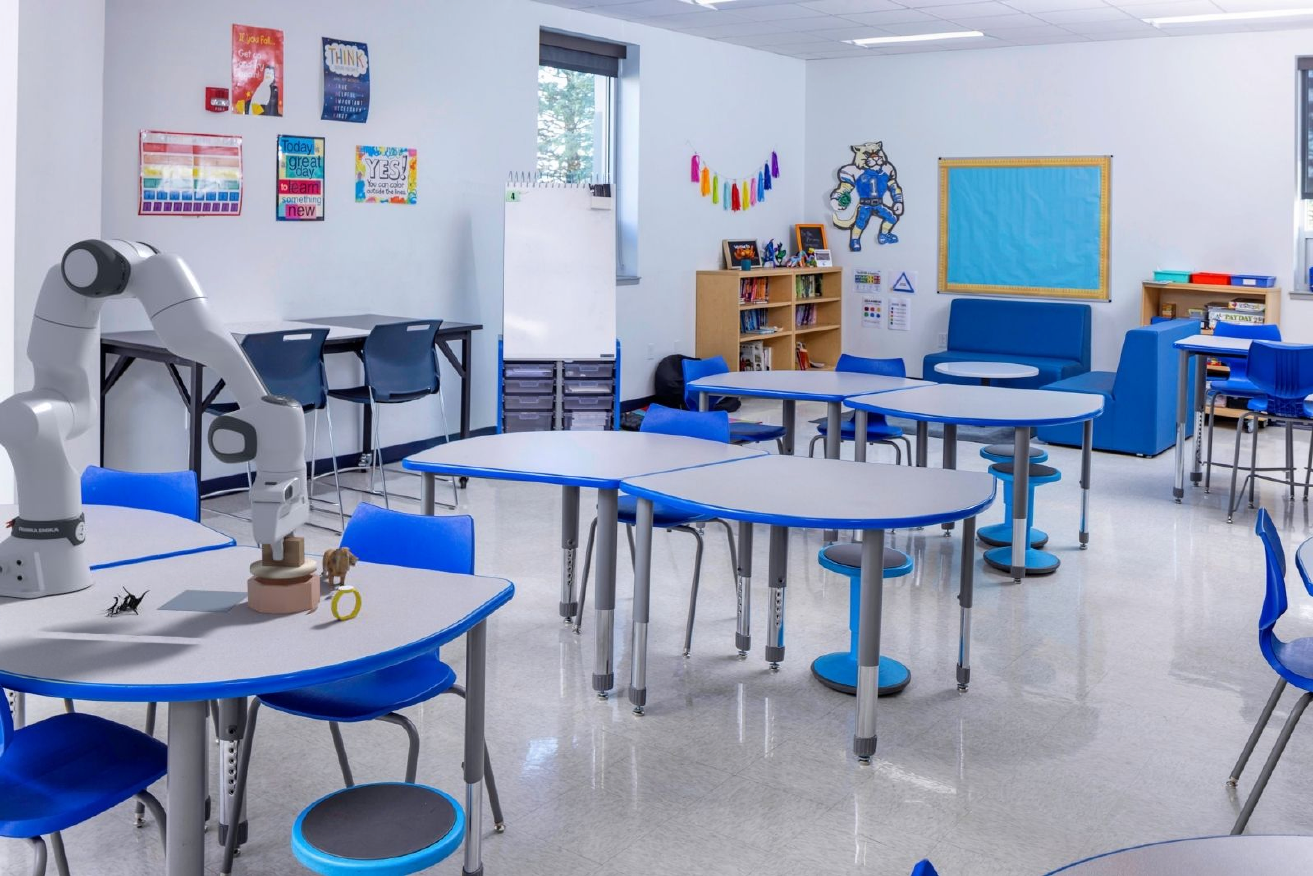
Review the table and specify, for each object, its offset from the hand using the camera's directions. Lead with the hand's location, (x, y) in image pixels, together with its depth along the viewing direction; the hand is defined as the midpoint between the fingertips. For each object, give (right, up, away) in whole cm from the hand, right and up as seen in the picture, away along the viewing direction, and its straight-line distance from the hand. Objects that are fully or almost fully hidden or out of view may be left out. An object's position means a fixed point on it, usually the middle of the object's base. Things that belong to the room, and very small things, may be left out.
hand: (283, 556), depth 231 cm
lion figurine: (+5, -8, +18) cm, 21 cm away
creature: (-27, -11, -6) cm, 30 cm away
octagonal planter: (0, -10, +2) cm, 10 cm away
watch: (+13, -11, -3) cm, 17 cm away
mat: (-15, -10, +2) cm, 18 cm away
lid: (0, -3, 0) cm, 3 cm away
